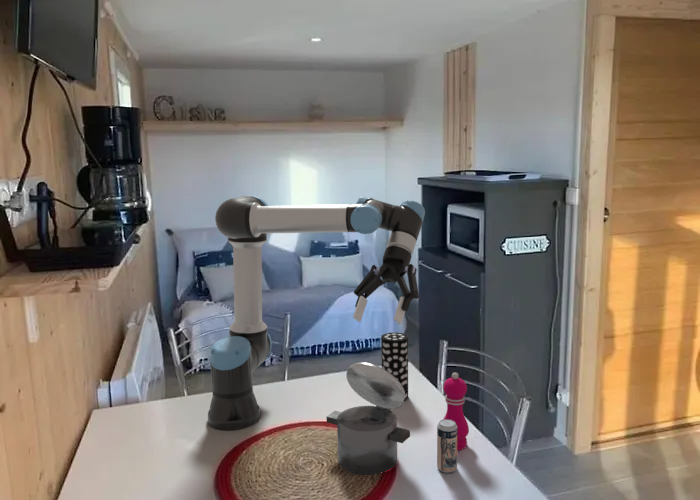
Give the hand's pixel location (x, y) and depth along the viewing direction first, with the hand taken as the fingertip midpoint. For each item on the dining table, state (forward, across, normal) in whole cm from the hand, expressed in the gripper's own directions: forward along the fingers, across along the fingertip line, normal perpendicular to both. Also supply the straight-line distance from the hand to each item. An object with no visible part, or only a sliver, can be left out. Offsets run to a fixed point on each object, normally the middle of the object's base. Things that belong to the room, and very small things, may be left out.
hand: (376, 320), depth 151 cm
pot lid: (+16, -2, -5) cm, 17 cm away
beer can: (+29, -18, -21) cm, 40 cm away
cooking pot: (+32, 0, -13) cm, 35 cm away
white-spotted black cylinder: (+8, +16, -39) cm, 43 cm away
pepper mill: (+21, -14, -30) cm, 39 cm away
